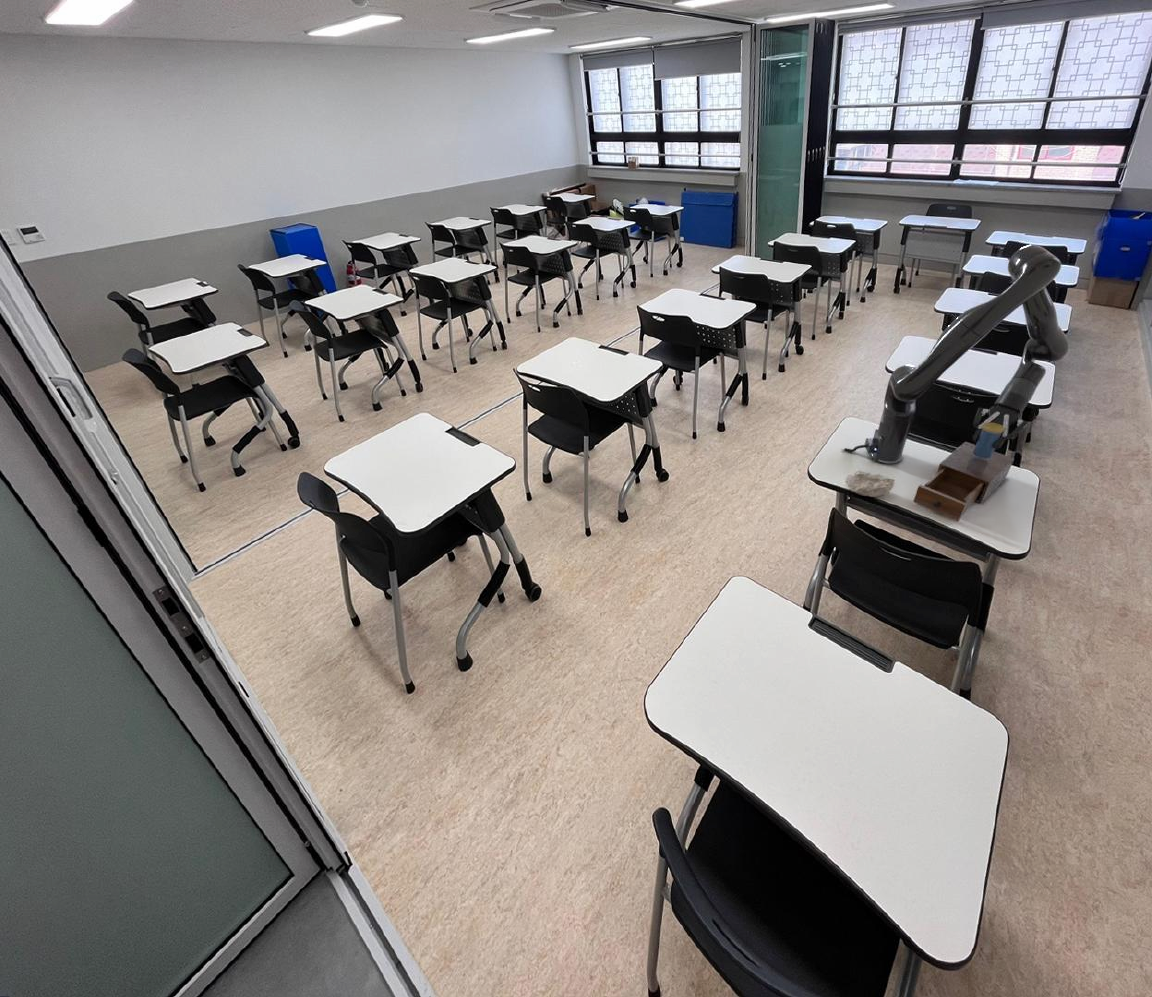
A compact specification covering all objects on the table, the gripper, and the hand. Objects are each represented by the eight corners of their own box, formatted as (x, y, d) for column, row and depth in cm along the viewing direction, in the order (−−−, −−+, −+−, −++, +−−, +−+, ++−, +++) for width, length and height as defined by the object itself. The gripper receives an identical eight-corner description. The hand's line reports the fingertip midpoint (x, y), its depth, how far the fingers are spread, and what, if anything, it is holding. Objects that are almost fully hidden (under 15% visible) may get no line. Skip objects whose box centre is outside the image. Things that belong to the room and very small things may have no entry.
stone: (873, 509, 185) (896, 490, 178) (840, 487, 186) (862, 468, 179) (875, 496, 190) (898, 477, 183) (844, 475, 191) (865, 455, 184)
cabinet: (980, 503, 178) (989, 482, 173) (932, 483, 187) (939, 463, 182) (1005, 479, 186) (1014, 458, 181) (957, 461, 195) (965, 441, 190)
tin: (988, 460, 178) (999, 433, 172) (969, 453, 182) (979, 427, 176) (995, 453, 181) (1007, 426, 175) (977, 446, 184) (987, 420, 178)
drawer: (956, 523, 170) (963, 507, 167) (911, 503, 179) (916, 487, 175) (982, 497, 178) (990, 480, 175) (938, 479, 187) (944, 463, 183)
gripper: (989, 384, 178) (958, 432, 180) (1042, 399, 168) (1009, 449, 170) (990, 393, 183) (961, 439, 185) (1042, 408, 174) (1010, 456, 176)
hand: (984, 444), depth 178 cm, fingers closed on tin, 5 cm apart
